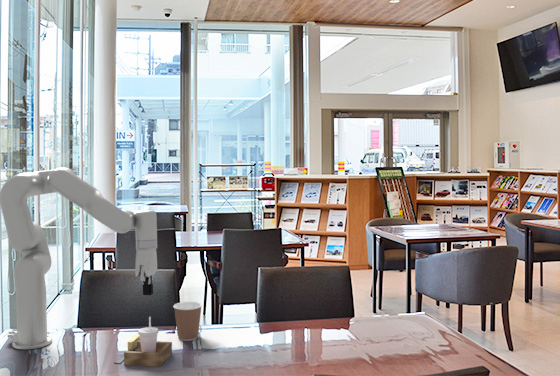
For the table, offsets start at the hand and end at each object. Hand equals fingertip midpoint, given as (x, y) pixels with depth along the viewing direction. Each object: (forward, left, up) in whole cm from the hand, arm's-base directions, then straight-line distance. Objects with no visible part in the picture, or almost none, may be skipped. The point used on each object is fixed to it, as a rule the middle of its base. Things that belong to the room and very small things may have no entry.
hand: (148, 294), depth 195 cm
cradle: (+6, -16, -16) cm, 23 cm away
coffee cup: (+14, +2, -16) cm, 22 cm away
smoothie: (+8, -21, -16) cm, 28 cm away
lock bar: (0, -11, -16) cm, 19 cm away
